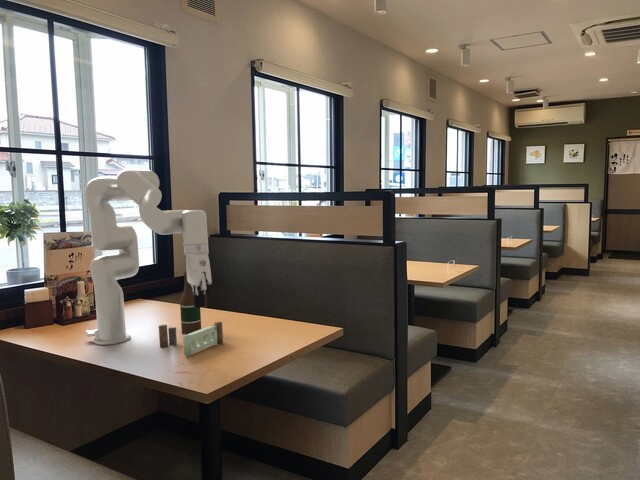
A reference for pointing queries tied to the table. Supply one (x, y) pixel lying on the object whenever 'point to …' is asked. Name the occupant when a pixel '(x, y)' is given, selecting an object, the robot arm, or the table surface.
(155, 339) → the table surface
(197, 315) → the beer bottle
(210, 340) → the gate
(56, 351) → the table surface
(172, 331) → the gate posts
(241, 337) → the table surface
